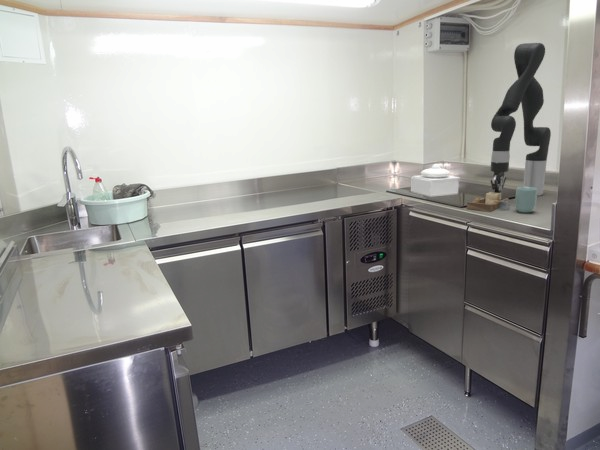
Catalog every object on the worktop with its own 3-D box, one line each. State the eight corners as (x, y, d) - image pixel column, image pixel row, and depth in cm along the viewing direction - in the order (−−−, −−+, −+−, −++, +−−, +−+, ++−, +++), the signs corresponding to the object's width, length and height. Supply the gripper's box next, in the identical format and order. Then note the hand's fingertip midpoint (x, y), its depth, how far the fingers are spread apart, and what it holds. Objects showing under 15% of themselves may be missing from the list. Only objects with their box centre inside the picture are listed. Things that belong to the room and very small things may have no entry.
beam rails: (486, 201, 204) (486, 194, 203) (508, 203, 197) (509, 196, 196) (466, 209, 189) (467, 201, 188) (490, 211, 182) (490, 204, 181)
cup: (537, 214, 176) (540, 189, 173) (517, 213, 177) (519, 189, 175) (531, 210, 183) (534, 186, 181) (512, 209, 185) (514, 186, 182)
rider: (489, 202, 200) (490, 192, 199) (500, 203, 197) (501, 193, 195) (485, 204, 196) (486, 193, 195) (496, 205, 193) (497, 194, 192)
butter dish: (410, 192, 235) (411, 163, 231) (438, 189, 241) (439, 161, 237) (430, 197, 219) (431, 166, 215) (459, 194, 224) (461, 163, 221)
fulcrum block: (501, 208, 188) (502, 200, 188) (508, 208, 186) (509, 201, 186) (498, 209, 186) (498, 201, 185) (505, 210, 184) (506, 202, 183)
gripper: (497, 159, 202) (494, 195, 207) (485, 161, 193) (483, 199, 197) (513, 160, 197) (510, 197, 201) (503, 162, 188) (499, 201, 192)
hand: (496, 198), depth 199 cm, fingers closed
